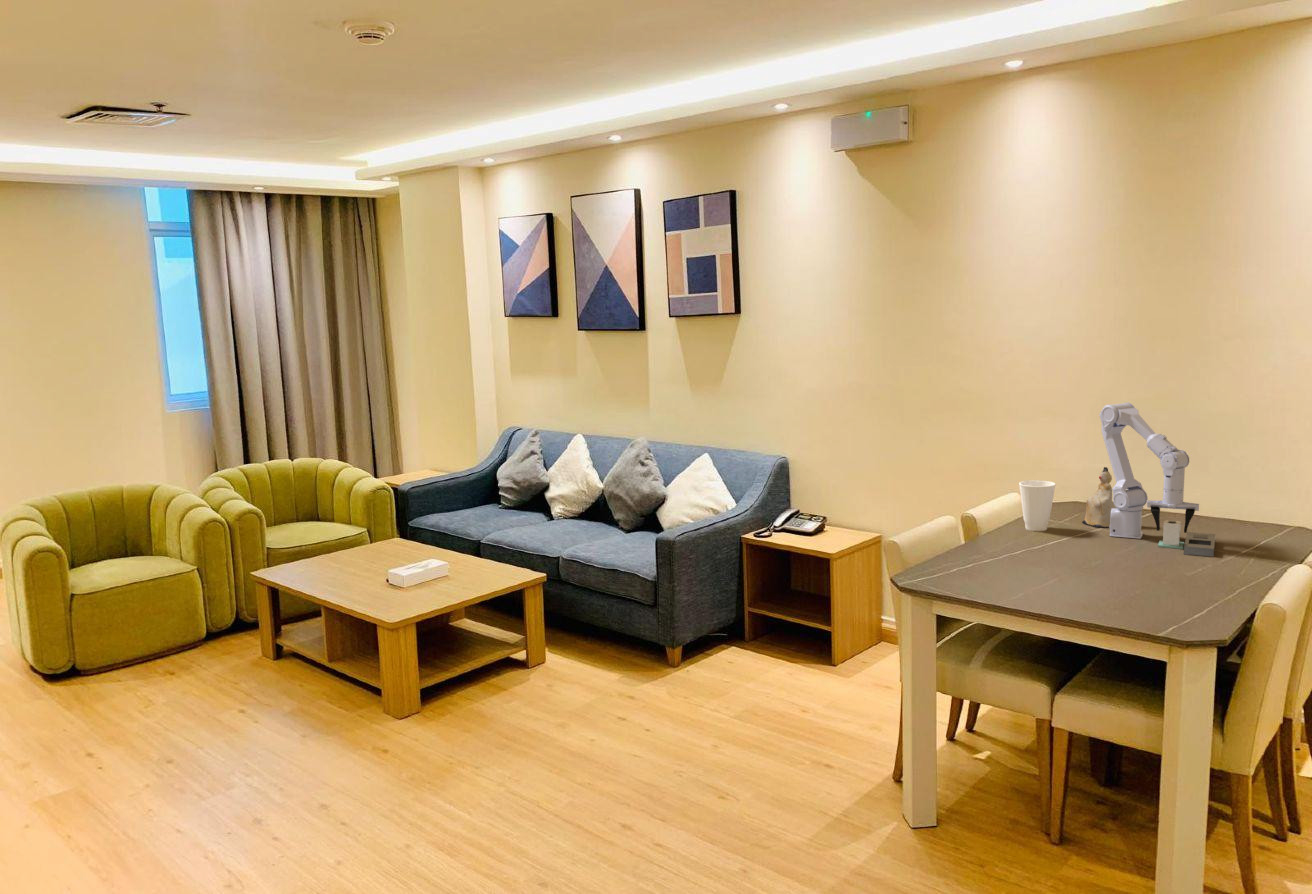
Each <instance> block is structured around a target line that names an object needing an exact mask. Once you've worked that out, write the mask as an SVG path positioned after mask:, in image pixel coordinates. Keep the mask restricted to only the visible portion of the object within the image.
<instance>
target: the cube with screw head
mask: <svg viewBox="0 0 1312 894" xmlns="http://www.w3.org/2000/svg"><path fill="white" fill-rule="evenodd" d="M1181 524H1182V521H1180V520H1164V521H1163V531H1162V533H1163V534H1162V540H1163V545H1172V546H1179V543H1180V542H1181V541H1180V540H1181Z"/></svg>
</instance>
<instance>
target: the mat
mask: <svg viewBox="0 0 1312 894" xmlns="http://www.w3.org/2000/svg"><path fill="white" fill-rule="evenodd" d="M1158 541H1159V542H1158V544H1157V547H1158V548H1167V549H1176V550H1184V545H1185V541H1180V543H1179V546H1172V545H1163V539H1161V540H1160V539H1159V540H1158Z"/></svg>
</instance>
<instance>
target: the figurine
mask: <svg viewBox="0 0 1312 894" xmlns="http://www.w3.org/2000/svg"><path fill="white" fill-rule="evenodd" d="M1098 479H1099V481H1100V483H1098V489H1097V490H1096V491H1095V493H1093V494H1092V495H1090V496H1089V497H1087V499H1086V502H1085V504H1086V506H1085V516H1084V519H1083V521H1082V523H1081V524H1083V525H1085V526H1088V527H1089V526H1090V527H1092V528H1095V529H1110V516H1111V509H1112V508H1117V507H1116V506H1115V505H1114V503H1113V491H1112V489H1113V487H1112V485H1111V484H1110V483H1111V482H1112V480H1113V477H1112V475H1111V473H1110V471H1109V468H1108V467H1106V466H1104V467H1103V470H1102V471H1101V473H1100V475H1099V476H1098Z"/></svg>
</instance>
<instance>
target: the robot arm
mask: <svg viewBox="0 0 1312 894" xmlns="http://www.w3.org/2000/svg"><path fill="white" fill-rule="evenodd" d="M1098 415H1099V420H1100V423H1101V434H1102V439H1103V441H1104V442H1103V443H1104V445H1105V448H1106V449H1105V450H1106V452H1107V454H1108V460H1109V462H1110V464H1111V468H1112V472H1113V475H1114V478H1115V482H1116V483H1115V485H1114V486H1113V487H1112V501H1113V503H1114V505H1115V507H1116V508H1112V509H1111V516H1110V528H1109V536H1110V537H1113V538H1114V537H1116V538H1130V539H1142V538H1143V535H1144V532H1143V531H1142V513H1143V512H1142V511H1143V510H1144V506H1146V507H1147V508H1148V509H1149V508H1150V513H1151V514H1152V517H1153V518H1154V519H1153V520H1154V522H1155V525H1156V526H1155V527H1156V531H1160V529H1161V528H1160V527H1161V524H1160V522H1161V520H1160V517H1161V509H1173V510H1185V513H1184V514H1185V518H1184V529H1183V533H1184V534H1185V533H1186V534H1187V532H1188V527H1189V524H1190V522H1191V521H1192V518H1193V516H1194V515H1195V512H1196V511H1197V512H1199V511H1200V503H1196V502H1195V503H1194V502H1186V501H1184V496H1185V495H1184V494H1185V493H1184V491H1185V472H1186V471H1185V469H1186V468H1187V467H1188V466H1189V463H1190V457H1189V455H1188V454H1187V451H1186V450H1183V449H1179V448H1178V447H1176V445H1173V443H1172V442H1171V441H1170V440H1168V437H1167V435H1165V434H1162V433H1156V432H1155V431H1154V429H1152V428H1151V426H1150V425H1149V424H1148V423H1147V422H1146V421H1145V420H1144V418H1143V417H1142V416H1141V415H1140V412H1139V409H1138V408H1137V407H1135V406H1134V405H1133V404H1132V403H1130V402H1124V403H1116V404H1115V403H1114V404H1106V405H1104V406H1103V407H1102V409H1101V411H1100V412H1099V414H1098ZM1127 426H1128V427H1129V426H1130V428H1132V430H1134V431H1135V432H1136V433H1138V435H1140V436H1141V437H1142V438H1143V439H1145V441H1146V447H1147V448H1148V449H1149V450H1150V451H1151V452H1152V453H1153V454H1154V455H1156V457H1157V458H1158V459H1159V462H1160V463H1159V464H1160V465H1161V467H1162V473H1163V489H1162V491H1163V493H1162V500H1148V493H1147V491H1146V490H1145V489H1144V488H1143V485H1142V483H1141V482H1140V481H1138V480H1137V479H1135V475H1134V473H1133V470H1132V467H1131V464H1130V463H1131V462H1130V460H1129V456H1128V454H1127V450H1126V446H1125V443H1124V439H1123V438H1122V432H1123V430H1124V429H1125V428H1126V427H1127Z"/></svg>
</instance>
